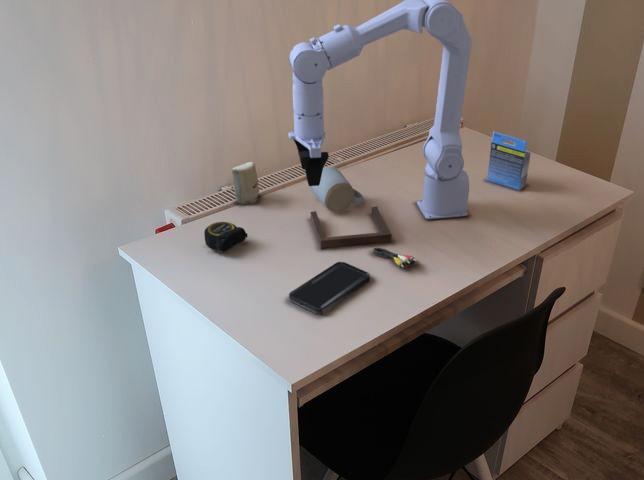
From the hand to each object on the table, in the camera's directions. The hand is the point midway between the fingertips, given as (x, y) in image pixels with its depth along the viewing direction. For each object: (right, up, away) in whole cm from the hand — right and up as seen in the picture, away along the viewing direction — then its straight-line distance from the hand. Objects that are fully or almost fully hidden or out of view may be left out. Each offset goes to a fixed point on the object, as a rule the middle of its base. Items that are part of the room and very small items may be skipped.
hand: (310, 176), depth 145 cm
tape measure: (-16, -15, -3) cm, 22 cm away
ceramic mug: (+4, -3, +13) cm, 14 cm away
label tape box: (+43, +4, +25) cm, 50 cm away
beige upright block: (-15, -2, +12) cm, 20 cm away
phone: (+5, -24, -14) cm, 28 cm away
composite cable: (+17, -17, -4) cm, 25 cm away
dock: (+8, -10, +4) cm, 13 cm away
